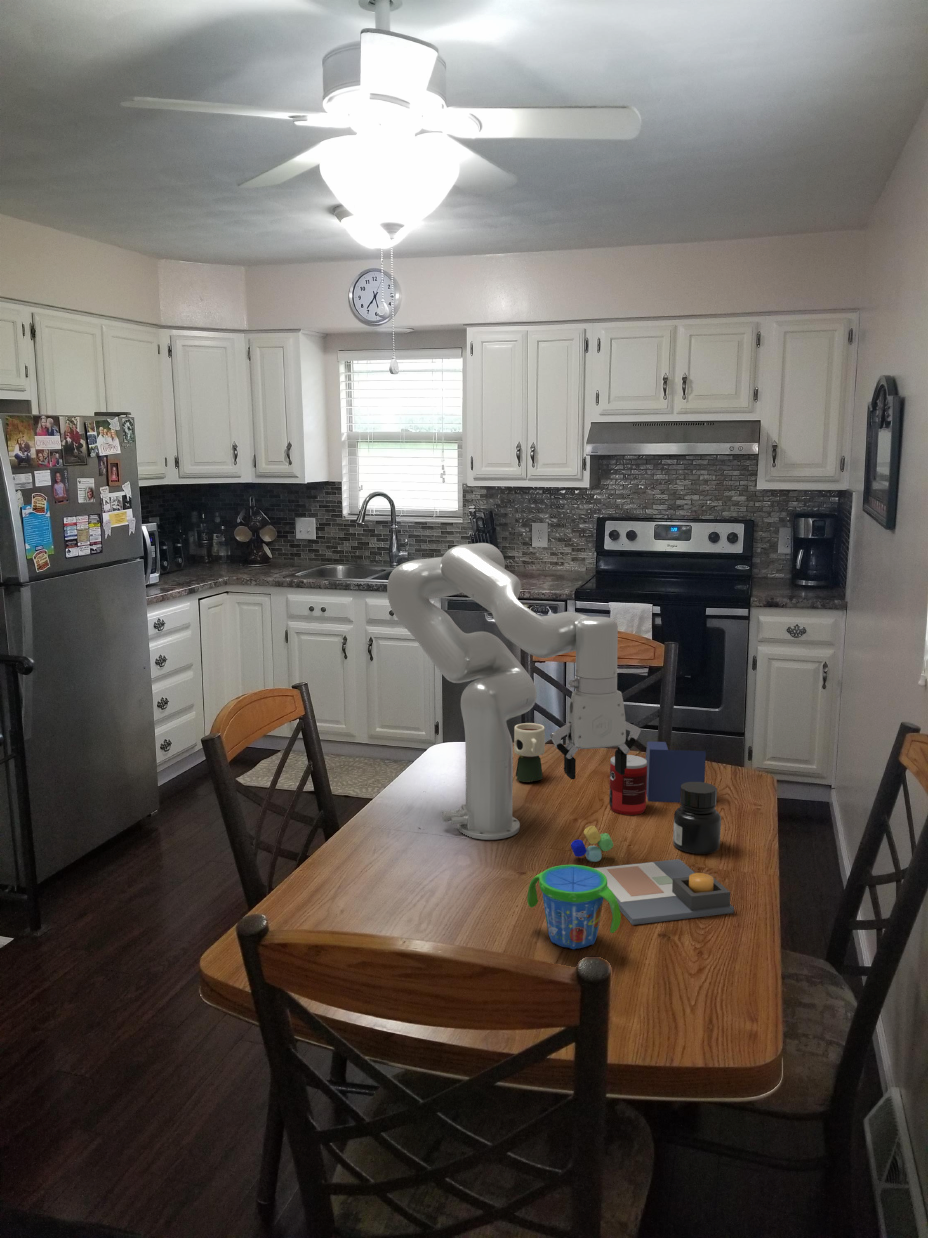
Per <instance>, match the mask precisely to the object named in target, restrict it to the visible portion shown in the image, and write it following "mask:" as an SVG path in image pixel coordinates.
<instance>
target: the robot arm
mask: <svg viewBox="0 0 928 1238" xmlns="http://www.w3.org/2000/svg"><path fill="white" fill-rule="evenodd" d="M505 563H506V561H505V559H504V555H503V553H502V552H501V551H500V550H499V549H498V548H497V546H494V545H493V544H491V543H487V542H477V543H469V544H467V543H466V544H460V545H456V546H453V547H451V548H449V549H448V550H447V551H446V552H445V553H444V554H443V556H439V557H432V558H421V559H413V560H409V561H406V562H404V563H401V564H400V565H399V564H398V565H397V566H396V567H395V568H394V569H393V570H392V572H391V573H390V575H389V577H388V579H387V580H388V581H387V587H386V590H387V598H388V599H387V600H388V604H389V606H390V609H391V611H392V613H393V614H394V616H395V617H396V619H397V620H398V621H399V623H400V624H401V625H402V627H404V628H405V629H406V630H407V631H408V632H409V633H410V635H411V636H412V638H414V639H415V641H416V642H418V644H419V646H420V648H421V649H422V650H423V652H424V653H426V655H427V656H428V657H429V659H430V660H431V662H432V663H433V665H434V666H435V667H436V668H437V670H438V672H440V674H442V676H443V677H444V678H445V679H446V681H449V682H451V683H454V684H461V683H466V682H469V681H472V682H470V683H468V684H467V686H466V687H465V688H464V690H463V691H462V693H461V697H460V710H461V711H460V712H461V716H462V719H463V720H462V721H463V726H464V738H465V740H464V741H465V742H464V743H465V747H464V748H465V750H464V751H465V752H464V753H465V804H461V808H460V809H457V811H451V810H450V811H443V812H442V815H441V817H442V822H450V823H451V825H457V829H459V830H458V831H459V832H460V833H461V832H462V833H463V835H464V834H465V835H464V836H466V835H467V836H466V837H468V836H469V837H468V838H471V837H472V838H473V839H476V840H486V841H490V840H491V841H494V840H503V839H507V838H510V837H511V838H512V836H515V835H516V834H518V833H519V831H520V830H521V823H520V821H519V820H518V819H517V818H515V817H514V816H513V782H514V781H513V778H514V777H513V774H514V773H513V769H514V767H513V765H514V762H513V761H514V760H513V759H514V757H513V753H514V750H513V749H514V745H513V740H512V736H511V733H510V730H509V728H508V724H507V721H509V720H511V719H512V718H515V717H518V716H521V715H523V714H526V713H527V712H528V711H530V710H531V709H532V708H533V707H534V705H535V703H536V700H537V688H536V685H535V682H534V680H533V679H532V677H531V676H530V675H529V673H528V672H527V670H526V669H525V668H524V666H523V665H522V664H521V663H520V662H519V660H518V659H517V658H516V657H515V656H514V654H513V653H512V652H511V650H510V649H509V648H508V646H506V645H505V643H504V641H502V640H501V639H500V638H499V637H498V636H497V635H495V634H493V633H491V632H488V631H483V630H482V631H474V632H470V633H468V632H467V633H466V632H464V631H463V630H462V629H461V628H459V626H458V625H457V624H456V623H455V622H454V620H453V618H452V617H451V616H450V615H449V614H448V613H447V612H445V611H444V609H442V608H440V607H439V606H437V605H436V604H434V603H432V602H431V601H430V600H433V599H440V598H445V597H449V596H455V595H458V594H460V593H463V594H464V595H465V596H467V597H468V598H470V599H471V600H473V601H474V602H476V603H477V604H479V605H480V606H482V607H483V608H485V610H487V611H488V612H490V613H491V614H492V616H493V617H492V619H493V620H494V622H495V625H496V626H497V628H498V630H499V631H500V632H501V634H502V635H503V636H504V637H505V638H506V639H507V640H508V641H509V642H511V643H512V644H513V645H515V646H517V647H518V648H520V649H521V650H522V651H524V652H526V653H527V654H529V655H531V656H533V657H536V658H540V659H548V658H552V657H555V656H556V657H557V656H559V655H563V654H568V653H573V652H575V674H574V678H573V679H571V680H570V679H569V680H568V683H567V685H568V687H569V688H573V689H574V690H573V691H572V693H571V697H570V701H569V706H568V715H567V723H566V724H564V725H563V726H561V727H560V728H557V729H556V730H554V731H552V733H550V735H549V738H550V739H551V741H552V743H553V745H554V747H555V748H556V749H557V750H558V751H559V752H560V753H561V754H562V755H563V762H564V763H563V772H564V774H565V775H566V776H567V777H568V778H569V779H570V780H575V779H576V774H577V773H576V762H577V761H576V758H575V757H574V756H575V754H576V753H577V752H578V750H589V749H590V750H591V749H592V750H593V749H601V748H603V749H604V748H613V747H616V748H617V749H615V752H614V756H615V771H617V772H618V773H619V774H621V775H625V769H626V768H627V755H629V753H630V750H631V749H632V748H633V747H634V745H636V742H637V740H638V738H639V736H640V734H641V731H642V730H641V728H640V727H638V726H636V725H634V724H632V723H630V722H628V721H626V714H625V705H624V699H623V698H624V697H623V693H622V691H620V690H618V648H619V647H618V643H619V642H618V640H619V639H618V638H619V636H618V634H619V629H618V623H617V622H616V620H615V619H614V618H611V617H607V616H606V617H605V616H589V615H585V614H582V613H579V612H574V611H563V612H559V613H553V614H548V615H544V616H541V615H540V614H538V613H535V612H534V611H533V610H531V609H530V608H528V607H527V606H525V605H524V604H523V603H522V602H521V601H519V599H518V598H519V596H520V594H521V589H522V584H521V580H520V579H519V577H517V575H516V574H513V573H512V572H510V571H509V570H507V569H505V568H506V564H505ZM627 731H629V735H628V736H627ZM566 735H567V740H568V741H567V743H566V744H565V745H564V744H563V742H562V738H563V737H565V736H566ZM462 833H461V834H462Z"/></svg>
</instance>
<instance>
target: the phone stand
mask: <svg viewBox="0 0 928 1238" xmlns="http://www.w3.org/2000/svg"><path fill="white" fill-rule="evenodd" d="M706 752H707V751H706V750H685V749H684V750H682V749H681V750H679V749H677V750H676V749H668V745H667V742H666V741H647V742H646V751H645V758H644V759H646V760H647V789H646V800H647V802H650V803H651V802H654V803H657V802H658V803H678V804H680V789H681V785H682V784H684V783H686V782H704V783H706V782H705V780H706V757H707V755H706V754H707V753H706Z"/></svg>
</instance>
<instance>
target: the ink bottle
mask: <svg viewBox="0 0 928 1238" xmlns="http://www.w3.org/2000/svg"><path fill="white" fill-rule="evenodd" d="M717 795H718V789H717V787H716V786H715V785H713V784H712V783H707V782H686V783H684V784H682V785H681V789H680V803H679V804H680V806H679V807H678V808H677V809H676V810H674V814H673V830H672V831H673V837H672V840H673V841H672V843H673V845H674V847H675V848H677V849H678V850H679V851H683V852H685V853H691V854H697V855H709V854H713V853H715V852H717V851H719V849H720V848H721V847H720V846H721V828H722V817H721V814H720V813H719V812H718V810H717V809H716V807H717Z"/></svg>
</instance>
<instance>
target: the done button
mask: <svg viewBox="0 0 928 1238" xmlns="http://www.w3.org/2000/svg"><path fill="white" fill-rule="evenodd" d="M710 875H711V874H707V873H703V872H695V873H693V874H691V875H690V876H689V889H690V890H691V891H693V892H694V893H701V892H710V891H713V883H714V878H715V877H714V876H713V875H711V876H710Z"/></svg>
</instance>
